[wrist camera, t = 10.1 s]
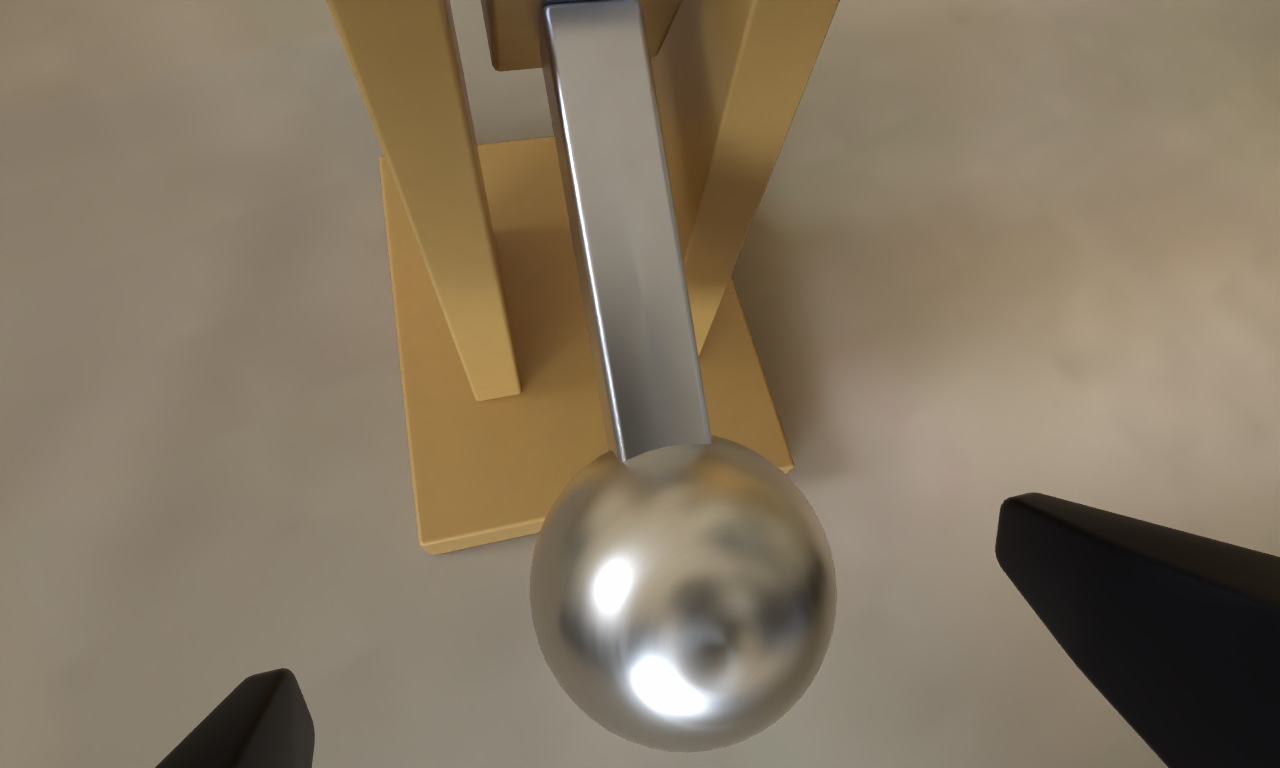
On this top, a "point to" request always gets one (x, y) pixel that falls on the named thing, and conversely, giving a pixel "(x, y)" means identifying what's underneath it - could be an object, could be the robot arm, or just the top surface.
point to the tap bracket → (558, 252)
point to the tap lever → (656, 434)
